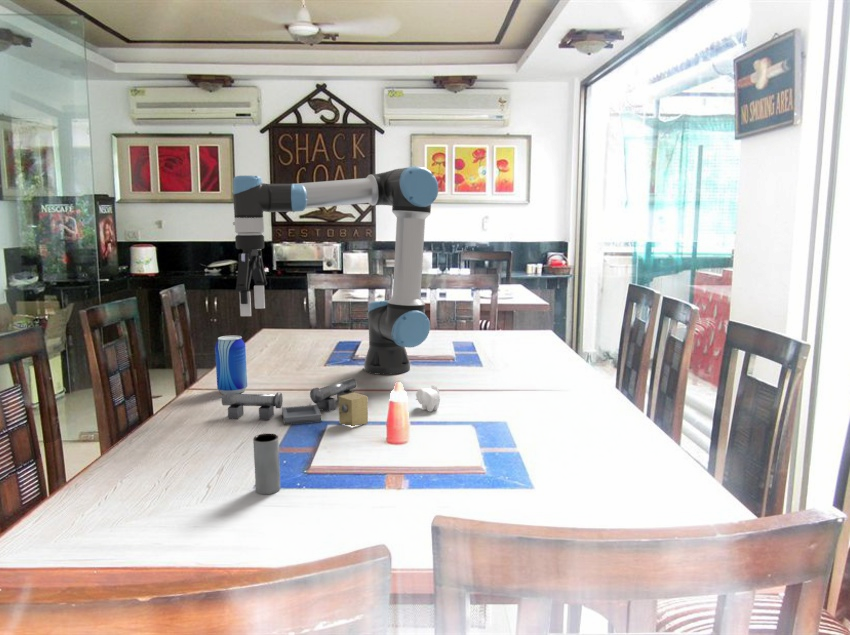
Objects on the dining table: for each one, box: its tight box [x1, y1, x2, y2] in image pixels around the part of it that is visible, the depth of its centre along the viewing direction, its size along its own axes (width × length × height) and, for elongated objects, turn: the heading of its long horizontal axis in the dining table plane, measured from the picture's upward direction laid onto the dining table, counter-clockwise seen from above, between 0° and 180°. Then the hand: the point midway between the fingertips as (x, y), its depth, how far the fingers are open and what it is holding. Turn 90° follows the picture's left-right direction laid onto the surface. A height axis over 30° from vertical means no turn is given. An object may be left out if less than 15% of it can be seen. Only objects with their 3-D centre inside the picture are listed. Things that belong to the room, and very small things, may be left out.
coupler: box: [338, 392, 369, 426], centre depth 161 cm, size 6×5×7 cm
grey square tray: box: [281, 404, 322, 426], centre depth 166 cm, size 9×9×2 cm
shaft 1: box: [220, 392, 284, 421], centre depth 166 cm, size 15×4×6 cm, turn 86°
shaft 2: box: [309, 377, 358, 412], centre depth 176 cm, size 15×4×6 cm, turn 146°
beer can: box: [214, 334, 248, 395], centre depth 190 cm, size 8×8×16 cm
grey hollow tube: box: [252, 433, 281, 495], centre depth 123 cm, size 4×4×10 cm
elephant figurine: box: [415, 385, 441, 412], centre depth 172 cm, size 7×8×6 cm
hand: (253, 312), depth 180 cm, fingers open, 13 cm apart
